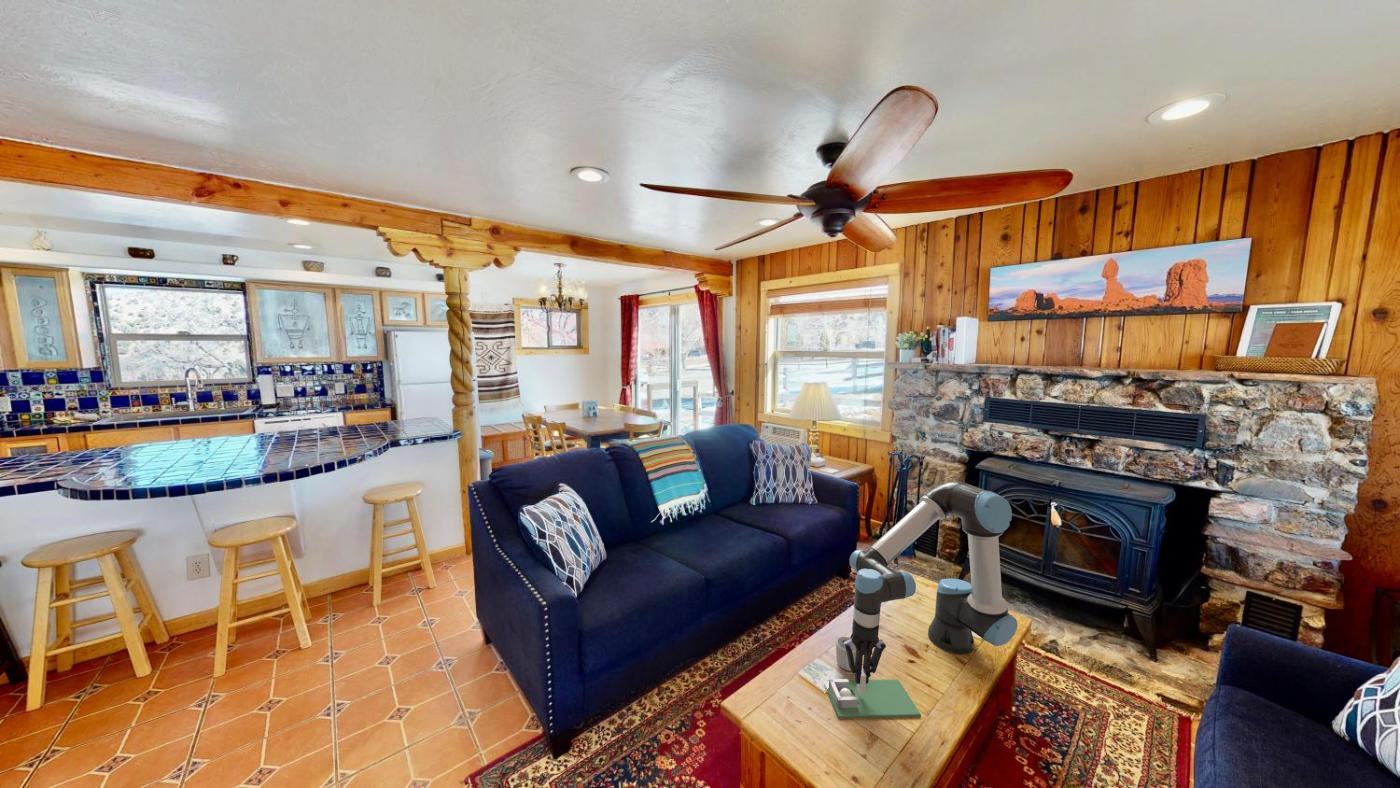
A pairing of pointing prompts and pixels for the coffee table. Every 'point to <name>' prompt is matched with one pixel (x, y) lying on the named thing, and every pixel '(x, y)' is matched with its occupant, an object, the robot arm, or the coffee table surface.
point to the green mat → (878, 701)
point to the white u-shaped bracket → (835, 687)
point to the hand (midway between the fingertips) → (860, 691)
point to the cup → (843, 653)
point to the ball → (845, 693)
